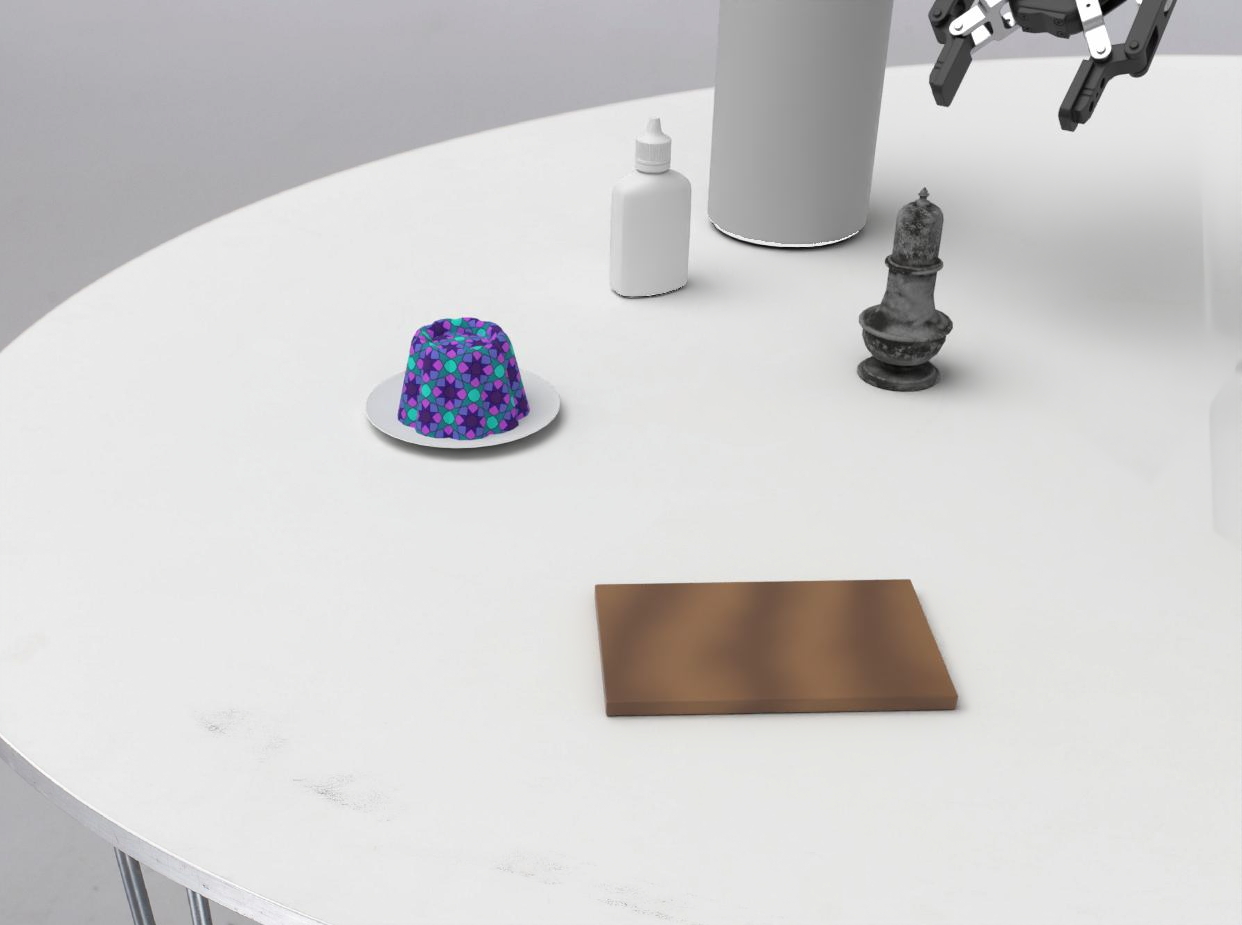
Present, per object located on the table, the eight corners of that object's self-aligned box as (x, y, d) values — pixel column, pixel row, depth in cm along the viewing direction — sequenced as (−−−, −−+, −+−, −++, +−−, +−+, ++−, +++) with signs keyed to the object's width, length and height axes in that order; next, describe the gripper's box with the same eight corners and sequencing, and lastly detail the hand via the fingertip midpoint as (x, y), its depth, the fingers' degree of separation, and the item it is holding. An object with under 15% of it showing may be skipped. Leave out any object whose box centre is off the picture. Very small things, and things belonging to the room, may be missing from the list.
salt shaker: (958, 367, 100) (989, 182, 93) (923, 401, 96) (952, 210, 89) (874, 347, 102) (898, 166, 95) (837, 379, 98) (859, 192, 91)
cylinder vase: (690, 241, 118) (709, -122, 104) (726, 191, 128) (748, -148, 113) (851, 259, 115) (895, -112, 100) (876, 206, 125) (920, -140, 110)
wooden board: (908, 591, 78) (910, 578, 78) (956, 710, 70) (958, 695, 70) (594, 597, 78) (594, 583, 77) (606, 716, 70) (606, 702, 69)
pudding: (345, 388, 97) (338, 309, 94) (524, 361, 101) (523, 284, 98) (393, 473, 88) (387, 389, 85) (588, 441, 91) (589, 359, 88)
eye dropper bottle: (610, 275, 113) (614, 107, 106) (686, 277, 112) (695, 108, 105) (607, 298, 109) (611, 126, 102) (686, 300, 109) (696, 127, 102)
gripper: (995, -169, 97) (884, 58, 97) (1220, -148, 90) (1102, 97, 90) (1017, -88, 104) (913, 124, 103) (1228, -63, 97) (1117, 166, 96)
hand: (1001, 111), depth 97 cm, fingers open, 8 cm apart
